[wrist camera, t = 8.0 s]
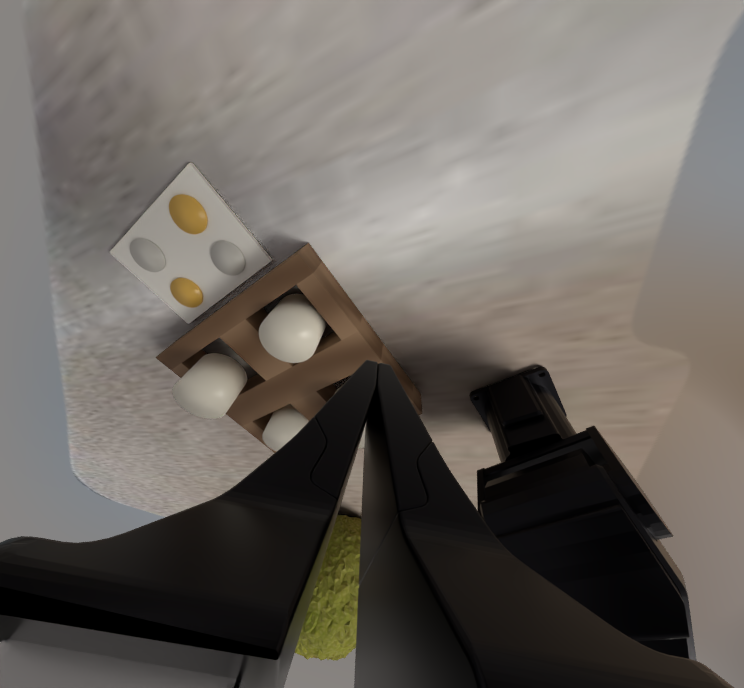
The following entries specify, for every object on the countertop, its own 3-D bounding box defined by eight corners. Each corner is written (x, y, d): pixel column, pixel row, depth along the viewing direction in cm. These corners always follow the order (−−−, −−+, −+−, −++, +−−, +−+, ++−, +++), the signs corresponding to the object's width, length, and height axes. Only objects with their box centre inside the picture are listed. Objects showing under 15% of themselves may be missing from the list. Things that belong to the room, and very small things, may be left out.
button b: (322, 419, 28) (314, 447, 26) (294, 431, 30) (283, 458, 27) (296, 394, 27) (284, 420, 24) (267, 408, 28) (253, 434, 25)
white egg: (337, 325, 22) (328, 348, 19) (299, 346, 23) (286, 370, 21) (303, 283, 20) (288, 303, 18) (265, 309, 22) (246, 330, 19)
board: (420, 394, 26) (422, 413, 24) (294, 443, 32) (287, 462, 30) (308, 242, 19) (297, 252, 17) (175, 341, 25) (155, 357, 23)
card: (272, 259, 20) (270, 262, 20) (190, 322, 24) (186, 325, 23) (192, 162, 17) (187, 162, 17) (112, 251, 21) (106, 253, 20)
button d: (257, 379, 23) (238, 408, 21) (226, 396, 25) (205, 425, 22) (219, 345, 22) (194, 371, 19) (189, 365, 23) (161, 392, 20)
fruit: (361, 556, 48) (293, 667, 37) (309, 490, 47) (227, 583, 37) (429, 573, 36) (360, 743, 25) (362, 485, 36) (263, 620, 25)
